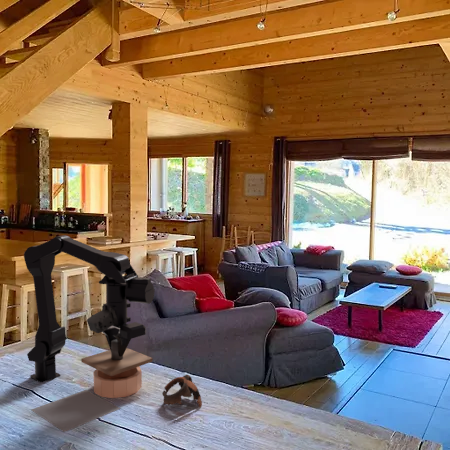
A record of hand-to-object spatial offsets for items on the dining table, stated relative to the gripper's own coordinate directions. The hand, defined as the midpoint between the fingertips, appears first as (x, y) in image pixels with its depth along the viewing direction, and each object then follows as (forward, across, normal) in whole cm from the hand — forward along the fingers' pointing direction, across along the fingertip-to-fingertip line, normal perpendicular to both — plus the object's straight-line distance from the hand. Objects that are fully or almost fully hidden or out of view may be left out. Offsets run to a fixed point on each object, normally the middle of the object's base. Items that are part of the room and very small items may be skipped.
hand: (117, 354), depth 136 cm
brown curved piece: (+10, +20, +7) cm, 24 cm away
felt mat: (+10, +3, -15) cm, 18 cm away
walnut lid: (+2, 0, 0) cm, 2 cm away
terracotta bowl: (+10, 0, 0) cm, 10 cm away
